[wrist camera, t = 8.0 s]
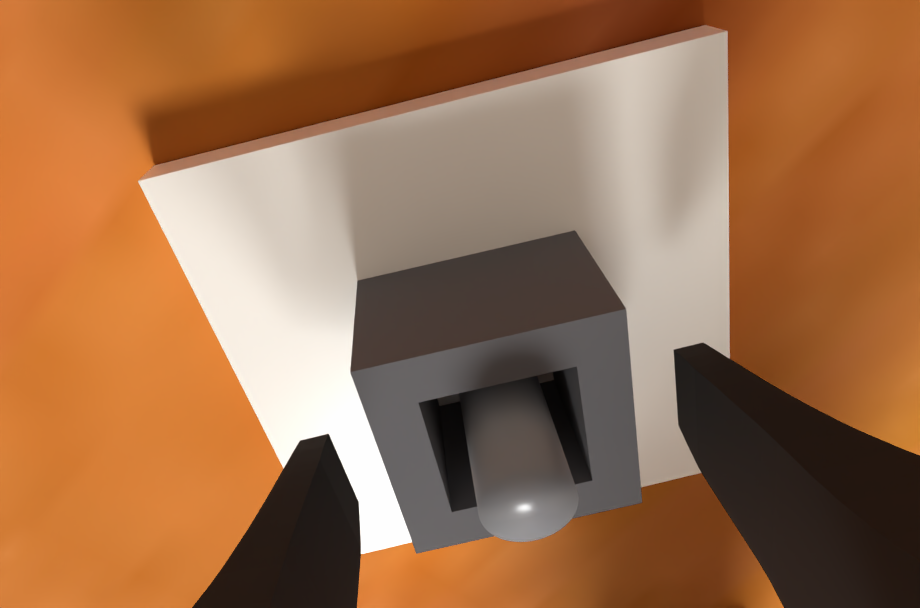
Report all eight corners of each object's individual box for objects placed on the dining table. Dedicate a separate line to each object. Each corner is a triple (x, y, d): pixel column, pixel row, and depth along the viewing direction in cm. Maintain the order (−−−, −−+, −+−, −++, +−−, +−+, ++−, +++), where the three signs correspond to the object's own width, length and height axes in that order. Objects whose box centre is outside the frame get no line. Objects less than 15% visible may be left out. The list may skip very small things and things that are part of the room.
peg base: (715, 442, 19) (835, 626, 14) (333, 533, 20) (314, 746, 14) (705, 25, 13) (909, 80, 8) (153, 165, 14) (11, 305, 8)
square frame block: (595, 401, 17) (642, 503, 14) (410, 443, 17) (416, 553, 14) (575, 230, 14) (626, 308, 11) (357, 280, 14) (349, 372, 11)
